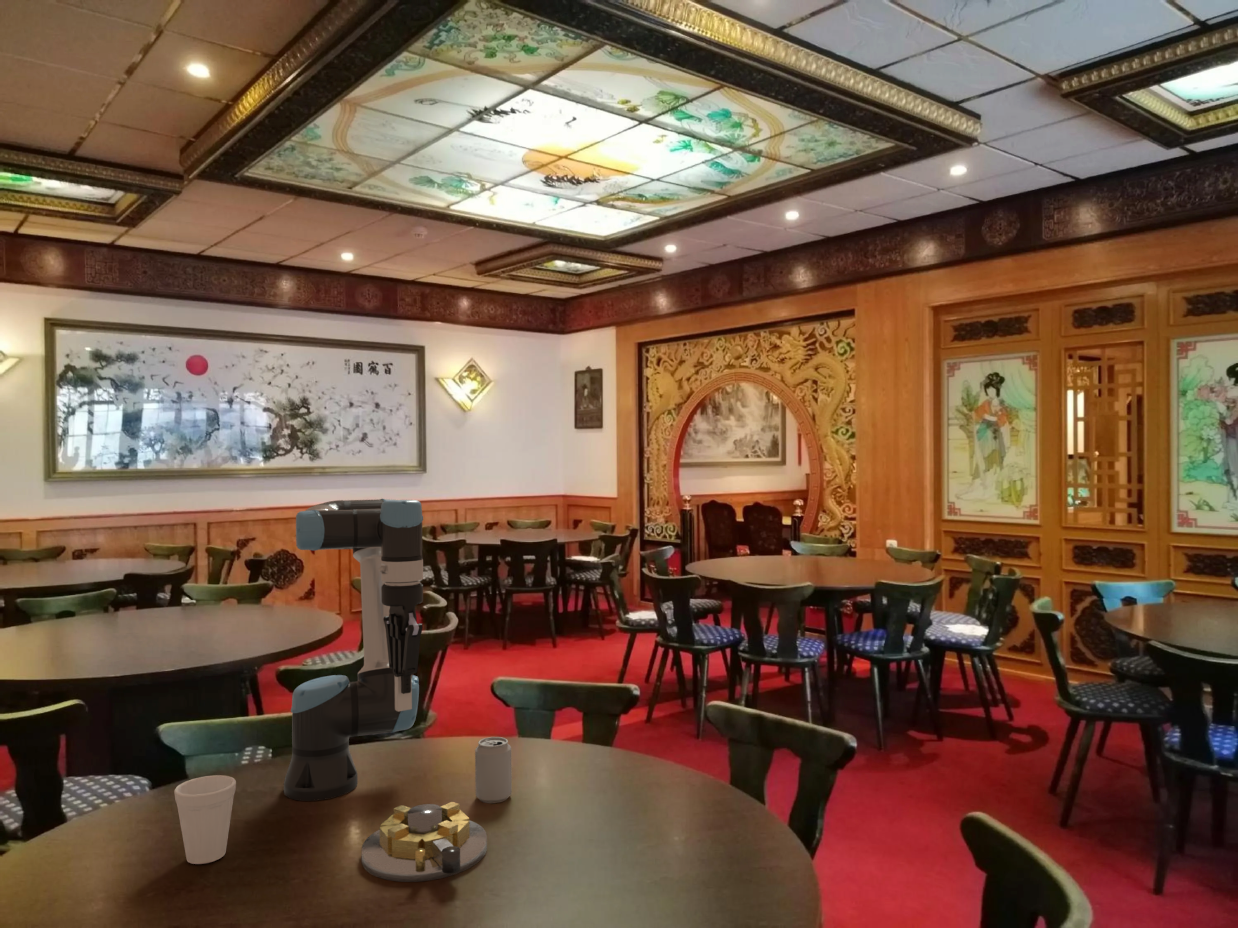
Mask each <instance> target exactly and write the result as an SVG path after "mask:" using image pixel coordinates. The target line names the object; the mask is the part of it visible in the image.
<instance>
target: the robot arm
mask: <svg viewBox="0 0 1238 928" xmlns="http://www.w3.org/2000/svg"><path fill="white" fill-rule="evenodd" d="M423 521H424V515H423V507H422V503H421V501H419V500H417V499H390V498H389V499H387V498H386V499H385V498H379V499H347V500H346V499H345V500H343V499H341V500H340V499H339V500H332V501H326V502H323V503H319V504H315V505H311V506H310V507H308V508H307V509H305V510H304V511H303V510H301V511H299V512H297V514H296V515H295V542H296V547H297V549H299V550H302V551H320V550H321V551H322V550H352V557H353V558H354V559H355V560H356V561H357V562H358V563H359V567H360V569H359V570H360V593H361V616H362V617H361V618H362V620H361V621H362V639H363V642H362V645H363V666H362V667H361V669H360V670H359V671H358V672H357V681H350V680H349V677H348V676H346V675H344V674H343V675H342V674H337V675H336V674H334V675H331V674H330V675H327V676H320V677H316V678H313V679H310V680H308V681H305V682H303V683H301V684H300V685H298V686H296V688H295V689H294V690H293V692H292V700H291V708H290V713H292V716H291V717H292V718H291V721H292V725H291V727H292V729H291V731H292V732H291V736H292V737H291V739H292V742H291V744H292V745H291V747H292V755H291V759H290V761H289V765H288V769H287V771H286V775H285V778H284V781H283V794H284V796H286V797H287V798H288V799H291V800H296V801H303V802H304V801H305V802H308V801H309V802H311V801H322V800H328V799H334V798H337V797H340V796H342V795H346V794H348V793H349V792H351V791H353V790H354V789H356V788H357V786H358V783H359V781H358V771H357V768H356V765H355V762H354V760H353V756H352V753H351V751H350V743H349V742H350V740H349V739H350V738H353V737H359V736H360V737H361V736H368V735H377V734H386V733H391V734H393V733H396V732H399V731H405V730H409V729H410V728H412V727H413V725H414V723H416V722H415V721H416V717H417V714H418V706H419V694H420V685H419V684H420V683H419V677H418V676H416V675H414V674H417V673H418V665H419V657H420V656H419V655H420V645H421V644H420V643H421V635H422V632H423V629H424V627H423V623H417V622H418V621H417V620H418V619H417V613H416V606H417V605H420V604H421V603H423V601H424V584H423V583H422V582H421V581H423V579H424V559H423Z"/></svg>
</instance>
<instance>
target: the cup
mask: <svg viewBox="0 0 1238 928" xmlns="http://www.w3.org/2000/svg"><path fill="white" fill-rule="evenodd" d="M236 788H237V781H236V779H235V778H234V777H232V776H229V775H223V774H222V775H220V774H217V775H216V774H215V775H205V776H200V777H196V778H192V779H190V780H186V781H183V782H182V783H180V784H178V785H177V786H176V788H175V789H174V790H173V792H174V799H175V803H176V806H177V811H178V812H177V813H178V818H179V824H180V830H181V834H182V835H181V836H182V840H183V847H184V852H185V857H186V858H185V859H186V861H187V863H190V864H193V865H194V864H195V865H202V864H209V863H212V862H215V861H217V860H219V859H222V857H224V856H225V854H226V851H227V847H228V846H227V845H228V838H229V830H230V824H231V818H232V812H233V811H232V810H233V803H234V798H235V793H236Z"/></svg>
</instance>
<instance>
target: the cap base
mask: <svg viewBox="0 0 1238 928" xmlns="http://www.w3.org/2000/svg"><path fill="white" fill-rule="evenodd" d="M410 808H411V809H409V811H408V826H409V833H415V834H426V833H431V832H435V831H438V824H439V823H441V822H442V808H441V807H440V805H438V804H434V803H424V804H418V805H416V806H412V807H410ZM469 826H470V835H469V839H468V840H467V841H466V842H465V843H464V844H463V845H462V846H461V847H460V870H459V871H458V872H456V873H452V874H447V873H444V872H442V868H441V867H440V866H439V864H438V863H437V862H436V861H435V860H434V859H433V857H431V858H427V859H425V849H423V848H419V849H417V850H416V851H415V859H409V858H400V857H392V854H389V855H387V853H386V852H385V851H384V849H383V848H382V847H381V845H380V829H378V830H376V831H374V832H373V833H372V834H370V835H368V837H367V838H366V839H364V841H363V843H362V845H361V864H362V865H361V866H362V867H363V868H364V870H365V871H366V872H367V873H369V874H370V875H372V876H374V877H376V878H379V879H382V880H387V881H393V882H403V883H413V882H414V883H416V882H417V883H420V882H427V881H433V880H434V881H436V880H440V879H443V878H447V877H452V876H453V875H457V874H459V873H462V872H464V871H466V870H468V869H471V868H472V867H474V866H475V865H477V864H478V863H479V862H480V861H481V860H482V859H483V858H484V856H485V855H486V853H487V850H488V836H487V835H488V834H487V831H486V830H485V829H484V828H483V826H481V825H480V824H478V823H477V822H476V821H472V820H470V819H469Z"/></svg>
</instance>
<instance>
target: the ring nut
mask: <svg viewBox="0 0 1238 928" xmlns="http://www.w3.org/2000/svg"><path fill="white" fill-rule="evenodd" d="M439 806H440V805H439ZM440 807H441V808H442V822H441V823H439V824H438V831H435V832H431V833H426V834H415V833H409V826H408V811H409V809H411V808H412V807H409V806H406V805H403V804H402V805H398V806H396V807H393V814H392V815H390V816H389V817H388V818H387V819H386V820H384V821H383V822H382V823H381V824H380V827H379V830H380V845H381V847H382V848H383V849H384V851H385V852H386V853H387V855H389V854H392V857H400V858H409V859H415V851H416V850H417V849H419V848H423V849H425V859H427V858H431V857H433V859H434V860H435V861H436V862H437V863H438V864H439V866H440V867H441V868H442V872H444V873H447V874H452V873H456V872H458V871H459V870H460V847H461V846H462V845H463V844H464V843H465V842H466V841H467V840H468V839H469V835H470V826H469V820H470V817H468V816H467V815H466V814H465V812H463V810H462V809H461V808H460V807H461V805H460V803H457V802H454V801H450V802H448V803H446V804H443V805H441V806H440Z"/></svg>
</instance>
